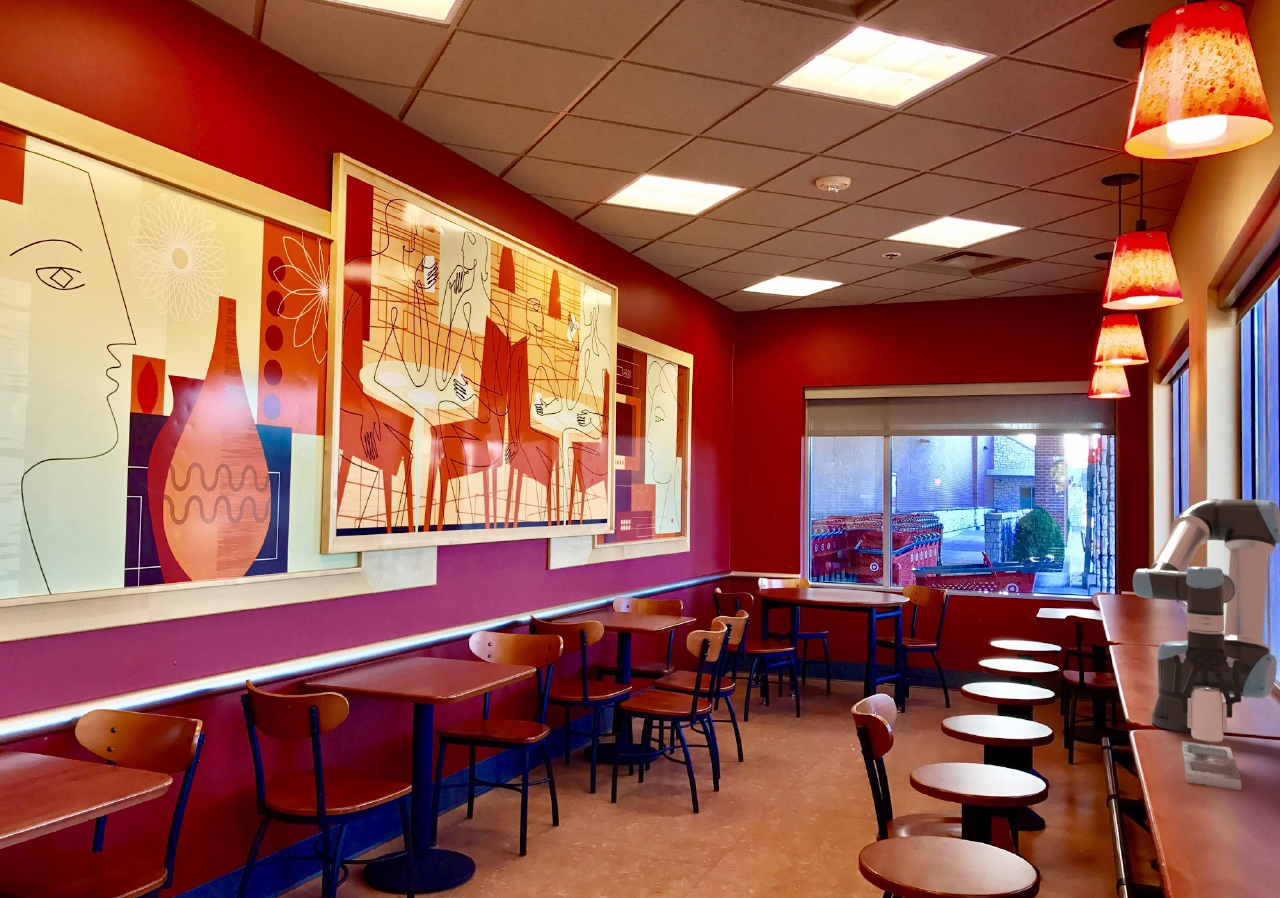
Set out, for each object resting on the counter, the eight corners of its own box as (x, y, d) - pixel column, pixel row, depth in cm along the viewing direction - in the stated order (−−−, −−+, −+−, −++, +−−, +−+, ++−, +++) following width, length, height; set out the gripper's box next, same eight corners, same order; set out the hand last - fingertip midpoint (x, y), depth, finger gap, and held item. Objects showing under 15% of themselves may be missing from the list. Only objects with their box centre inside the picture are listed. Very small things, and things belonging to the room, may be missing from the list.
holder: (1182, 749, 225) (1182, 741, 225) (1230, 755, 220) (1230, 747, 220) (1186, 782, 198) (1186, 773, 199) (1241, 790, 194) (1241, 780, 194)
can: (1219, 737, 218) (1218, 686, 219) (1226, 743, 212) (1225, 692, 213) (1188, 734, 220) (1187, 684, 221) (1195, 741, 214) (1194, 689, 215)
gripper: (1159, 629, 219) (1160, 726, 218) (1255, 637, 210) (1257, 738, 208) (1159, 626, 226) (1160, 720, 224) (1252, 633, 216) (1254, 731, 215)
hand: (1207, 728), depth 216 cm, fingers closed on can, 6 cm apart
